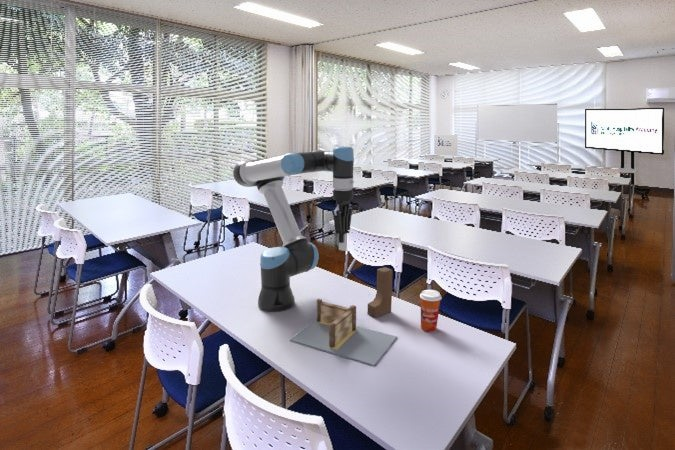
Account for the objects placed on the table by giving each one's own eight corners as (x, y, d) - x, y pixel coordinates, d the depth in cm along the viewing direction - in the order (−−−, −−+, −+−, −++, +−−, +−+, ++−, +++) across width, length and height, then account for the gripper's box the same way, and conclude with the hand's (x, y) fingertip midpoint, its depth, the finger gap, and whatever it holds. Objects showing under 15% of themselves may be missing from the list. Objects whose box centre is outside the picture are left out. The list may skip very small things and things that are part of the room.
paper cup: (416, 331, 151) (418, 295, 148) (420, 321, 158) (422, 287, 155) (437, 335, 148) (440, 299, 145) (441, 325, 155) (443, 291, 152)
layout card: (289, 341, 144) (289, 339, 144) (319, 317, 161) (319, 316, 161) (374, 366, 130) (374, 364, 130) (396, 337, 147) (396, 336, 147)
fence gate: (348, 329, 151) (348, 309, 149) (353, 330, 150) (353, 310, 148) (328, 346, 139) (328, 324, 138) (333, 347, 138) (333, 326, 136)
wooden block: (374, 318, 161) (375, 274, 157) (367, 313, 165) (367, 271, 160) (391, 312, 166) (393, 269, 162) (384, 308, 170) (385, 266, 165)
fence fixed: (315, 321, 157) (315, 299, 155) (319, 318, 159) (318, 297, 157) (354, 331, 150) (354, 308, 148) (357, 328, 152) (357, 306, 150)
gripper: (343, 192, 146) (343, 256, 152) (359, 187, 157) (358, 246, 163) (325, 190, 149) (325, 253, 155) (342, 185, 160) (341, 244, 166)
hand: (342, 249), depth 159 cm, fingers closed
